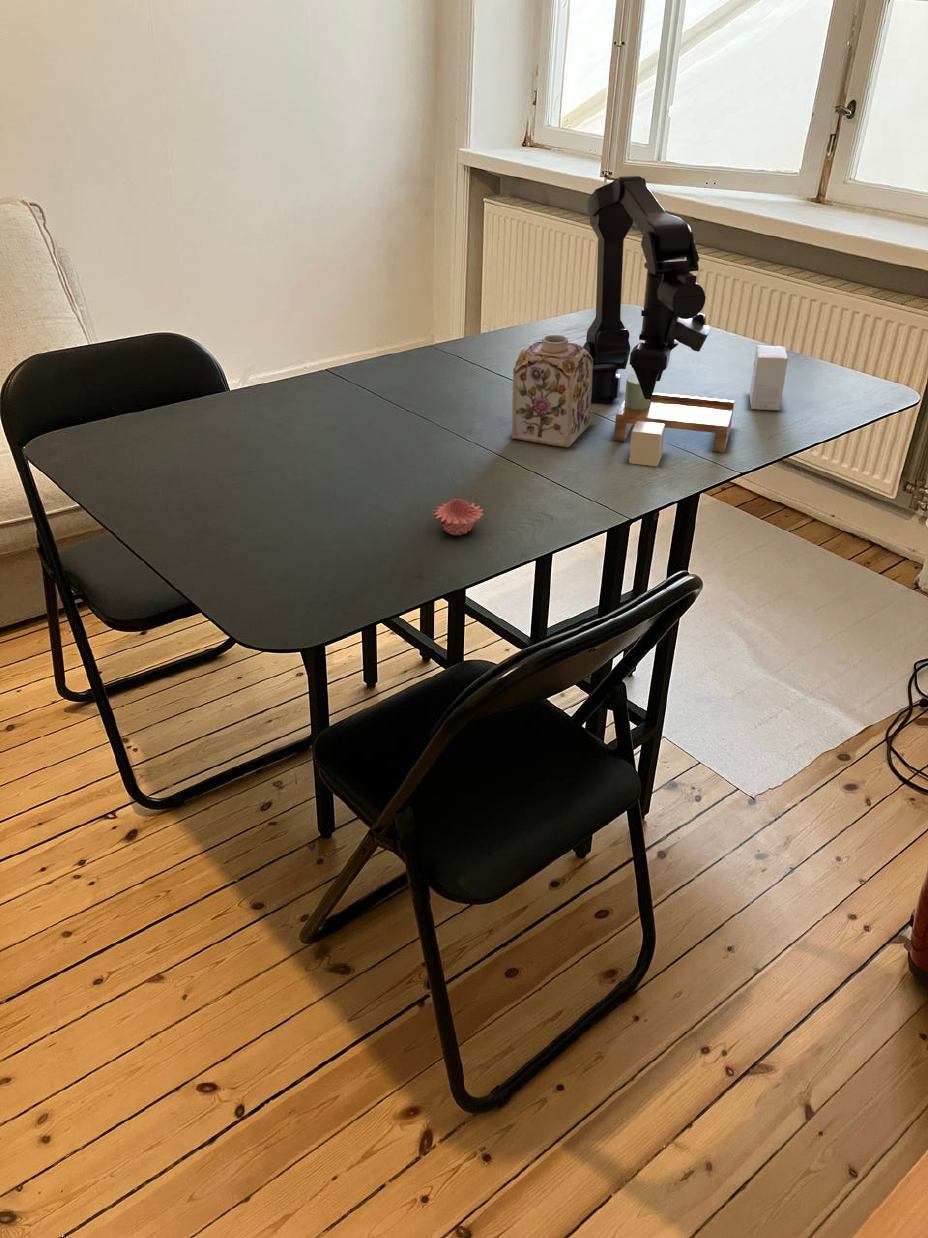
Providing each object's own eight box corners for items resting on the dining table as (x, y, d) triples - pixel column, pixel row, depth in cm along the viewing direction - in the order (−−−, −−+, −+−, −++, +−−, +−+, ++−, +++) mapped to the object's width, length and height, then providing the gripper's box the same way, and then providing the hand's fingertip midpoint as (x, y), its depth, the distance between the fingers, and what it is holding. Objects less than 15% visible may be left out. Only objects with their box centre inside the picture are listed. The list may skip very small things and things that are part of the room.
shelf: (613, 440, 185) (616, 410, 182) (624, 418, 194) (627, 389, 191) (724, 452, 180) (728, 422, 177) (730, 430, 189) (734, 400, 185)
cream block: (629, 463, 177) (631, 431, 173) (634, 452, 180) (636, 420, 177) (657, 466, 175) (660, 434, 172) (661, 455, 179) (665, 423, 176)
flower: (460, 516, 160) (460, 484, 157) (494, 533, 155) (494, 501, 152) (422, 531, 156) (420, 499, 153) (455, 550, 151) (455, 517, 148)
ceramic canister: (622, 408, 185) (624, 382, 182) (627, 399, 189) (629, 374, 186) (648, 411, 184) (650, 385, 181) (652, 402, 187) (655, 376, 185)
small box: (779, 411, 196) (788, 358, 191) (750, 409, 197) (758, 357, 191) (777, 397, 203) (785, 345, 197) (748, 395, 204) (756, 344, 198)
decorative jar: (591, 426, 191) (596, 332, 181) (570, 449, 182) (575, 351, 172) (532, 417, 195) (535, 325, 185) (509, 439, 186) (510, 343, 176)
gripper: (702, 322, 160) (690, 414, 169) (716, 290, 175) (705, 376, 183) (633, 315, 163) (625, 406, 172) (652, 285, 178) (644, 370, 186)
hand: (652, 389), depth 178 cm, fingers open, 9 cm apart
